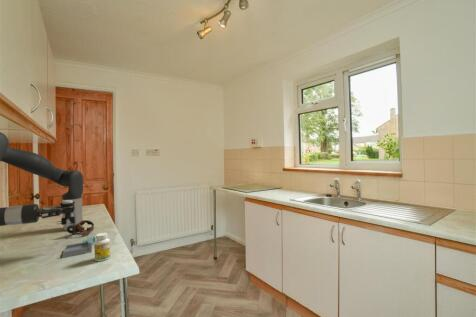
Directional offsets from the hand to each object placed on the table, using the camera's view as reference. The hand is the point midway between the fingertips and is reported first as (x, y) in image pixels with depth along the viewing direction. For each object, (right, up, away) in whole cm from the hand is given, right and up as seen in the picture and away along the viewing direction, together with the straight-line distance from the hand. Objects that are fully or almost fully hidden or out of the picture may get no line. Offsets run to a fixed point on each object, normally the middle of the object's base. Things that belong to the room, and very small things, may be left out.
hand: (73, 209), depth 105 cm
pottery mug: (-10, -18, +21) cm, 29 cm away
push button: (-2, -6, -1) cm, 7 cm away
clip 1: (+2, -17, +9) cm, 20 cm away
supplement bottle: (+19, -17, -11) cm, 28 cm away
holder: (+3, -18, -2) cm, 18 cm away
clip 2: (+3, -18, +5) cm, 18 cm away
